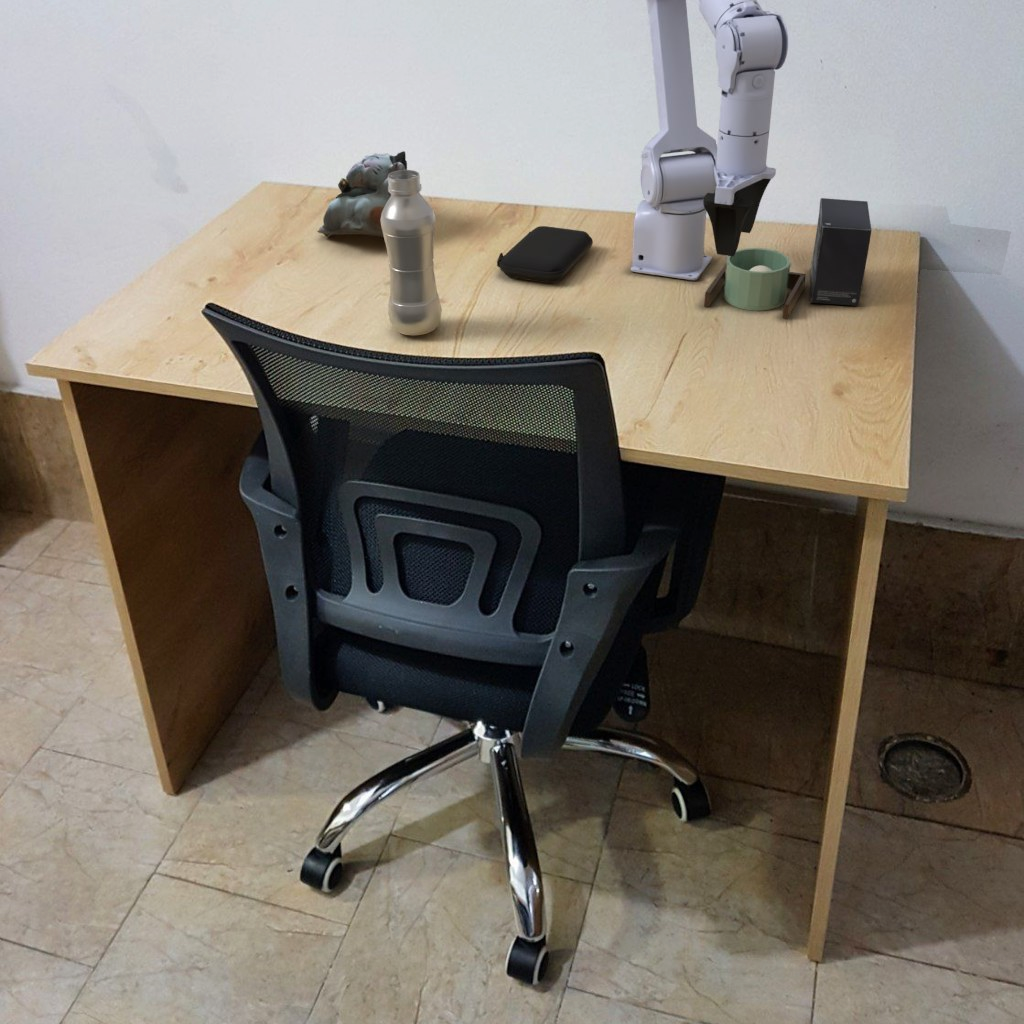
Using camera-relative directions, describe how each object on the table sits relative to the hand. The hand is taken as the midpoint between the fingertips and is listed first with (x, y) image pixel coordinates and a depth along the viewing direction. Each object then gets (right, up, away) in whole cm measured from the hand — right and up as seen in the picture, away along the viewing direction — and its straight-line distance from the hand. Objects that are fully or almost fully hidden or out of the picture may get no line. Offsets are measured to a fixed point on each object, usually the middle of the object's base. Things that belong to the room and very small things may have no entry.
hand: (734, 242), depth 137 cm
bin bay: (+5, -4, +11) cm, 13 cm away
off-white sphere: (+5, -3, +9) cm, 11 cm away
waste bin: (+5, -4, +11) cm, 13 cm away
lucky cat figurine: (-49, +9, +34) cm, 60 cm away
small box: (+16, -3, +13) cm, 21 cm away
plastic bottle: (-39, -10, +7) cm, 41 cm away
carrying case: (-23, +2, +23) cm, 32 cm away
